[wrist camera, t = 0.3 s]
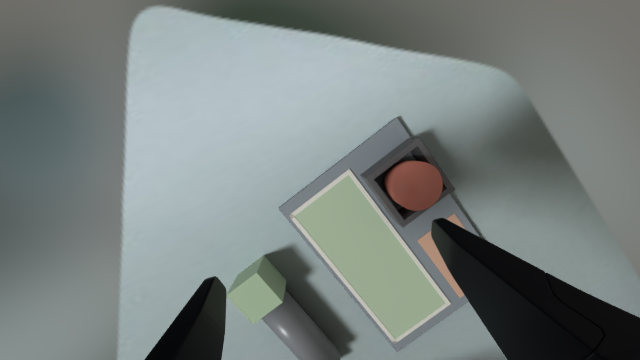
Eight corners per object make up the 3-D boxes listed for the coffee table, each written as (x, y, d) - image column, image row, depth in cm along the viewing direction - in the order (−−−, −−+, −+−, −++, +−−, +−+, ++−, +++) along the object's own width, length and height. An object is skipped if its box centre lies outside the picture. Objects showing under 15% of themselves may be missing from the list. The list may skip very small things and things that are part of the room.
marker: (345, 349, 26) (351, 379, 22) (320, 366, 26) (322, 399, 22) (264, 255, 24) (256, 272, 20) (237, 274, 24) (226, 295, 21)
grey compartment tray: (501, 271, 25) (527, 288, 22) (395, 347, 26) (406, 373, 23) (394, 118, 22) (407, 113, 20) (279, 207, 23) (274, 215, 20)
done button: (435, 185, 22) (452, 190, 19) (399, 211, 22) (411, 220, 19) (410, 150, 21) (424, 151, 19) (374, 178, 21) (383, 182, 19)
